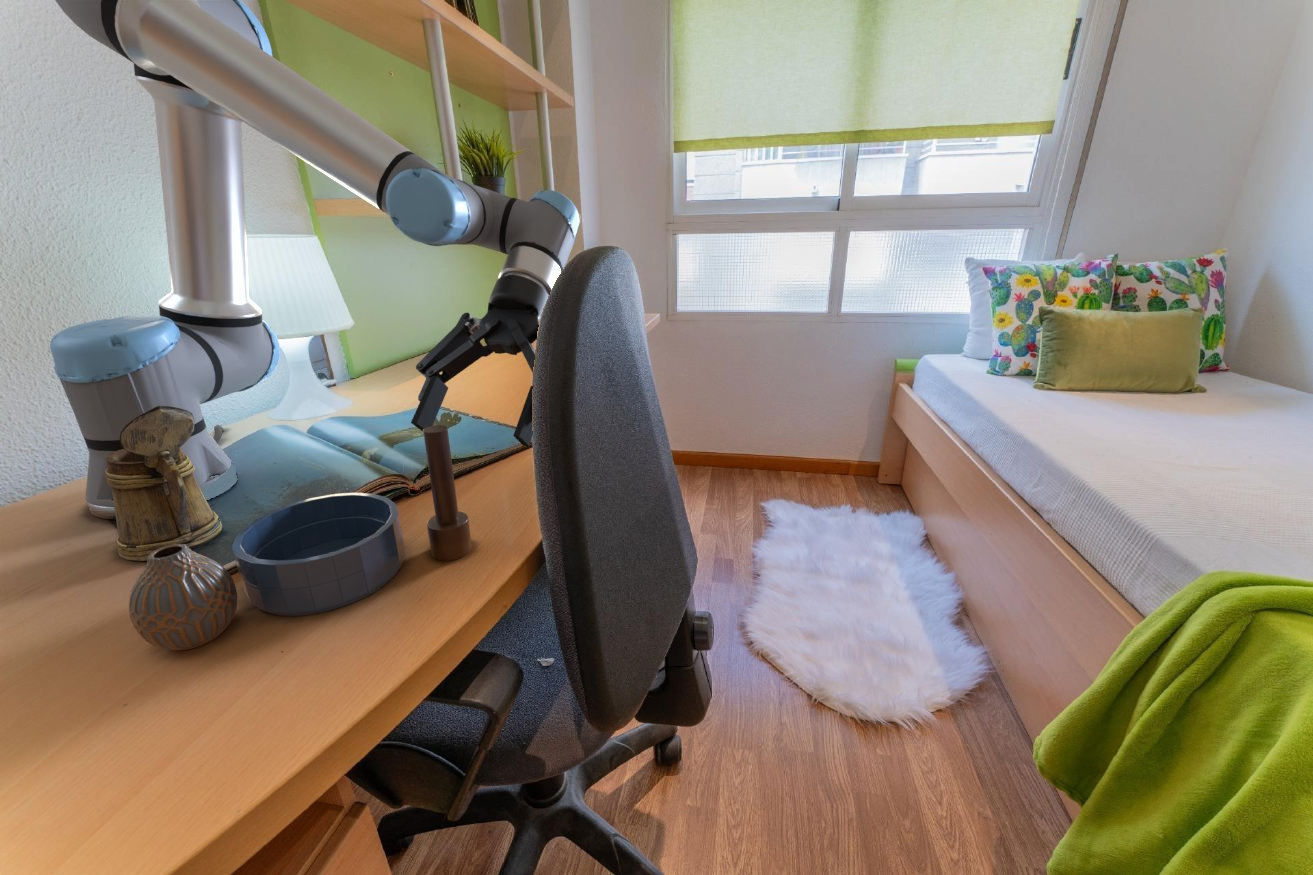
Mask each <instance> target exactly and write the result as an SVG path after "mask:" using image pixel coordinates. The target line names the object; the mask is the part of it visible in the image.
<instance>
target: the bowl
mask: <svg viewBox="0 0 1313 875" xmlns="http://www.w3.org/2000/svg"><path fill="white" fill-rule="evenodd" d="M399 516H400V515H399V511H398V506H397V503H395V502H394V501H392V500H391V499H390V498H389V497H387V496H383V495H379V494H375V493H366V492H342V493H332V494H326V495H321V496H316V497H310V498H307V499H303V500H299V501H296V502H293V503H292V502H291V503H289V504H286V505H284V506H283V505H282V506H281V507H278V508H276V509H274V510H271V511H269V512H267V513H265V514H263V515H261V516H260V517H258V518H256V519H255V520H253V521H251V522H249V523H247V525H245V526H244V527H243V528H242V529H241V530H240V531H239V532H238V533H237V534H236V535H235V536H234V539H233V542H232V545H231V552H232V555H233V557H234V558H233V559H234V561H235V565H236V568H237V571H238V574H239V577H240V580H241V583H242V587H243V590H244V593H245V596H246V597H247V599H248V602H249V603H250V604H251V605H252V606H254V607H255V608H258V609H260V610H261V611H263V612H266V613H268V614H273V615H276V616H283V617H284V616H285V617H286V616H288V617H296V616H309V615H315V614H320V613H326V612H329V611H332V610H336V609H339V608H342V607H345V606H348V605H351V604H353V603H356V602H358V601H360V600H363V599H364V598H366V597H368V596H370V595H372V594H374V593H375V592H377V591H378V590H380V589H382V587H384V586H385V585H387V584H388V583H389V582H390V581H391V580H392V579H393V578H394V577H395V575H396V574H397V573H398V572H399V570H400V569H401V567H402V565H403V562H404V561H405V559H406V550H405V545H404V539H403V532H402V527H401V526H402V525H401V521H400V517H399Z"/></svg>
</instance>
